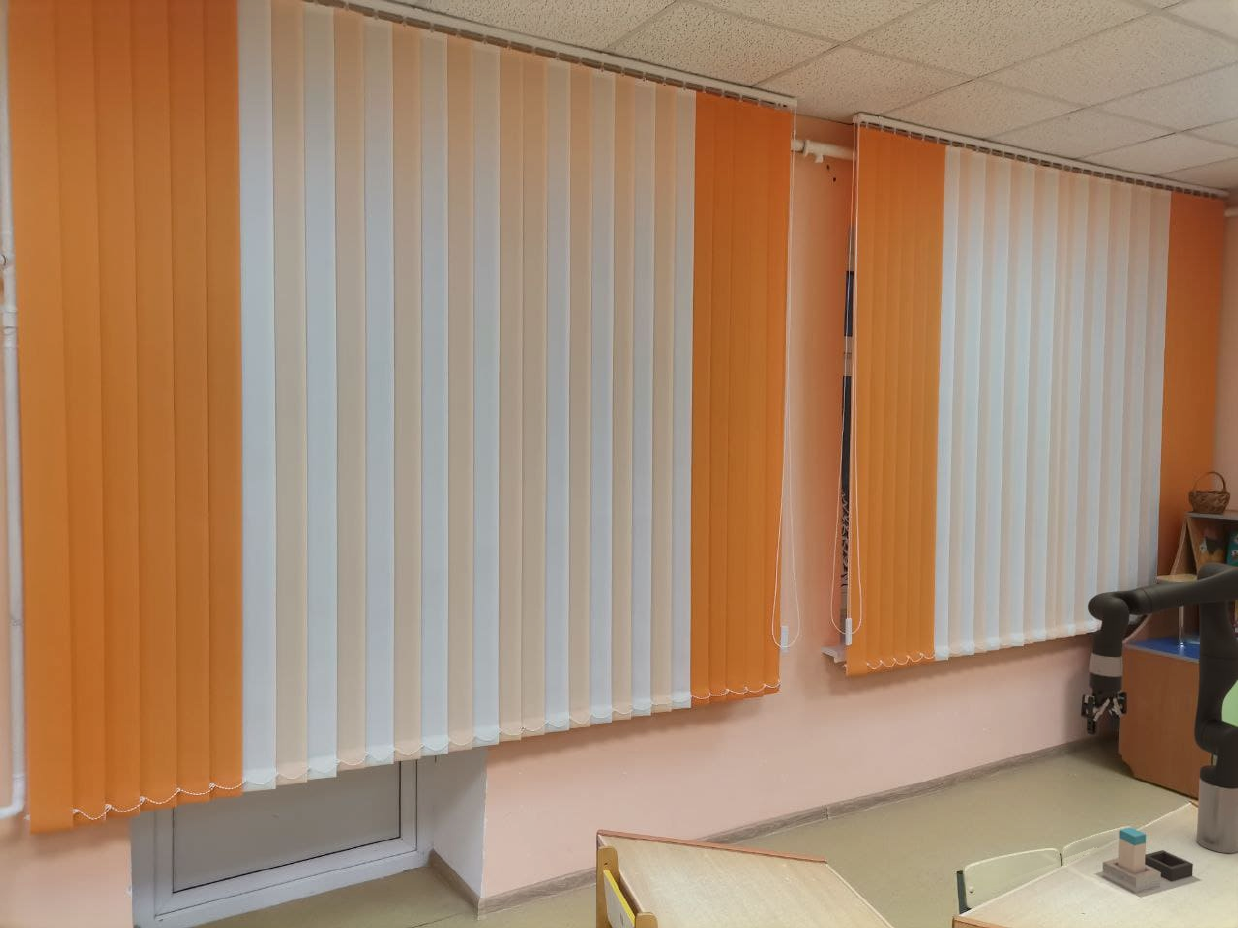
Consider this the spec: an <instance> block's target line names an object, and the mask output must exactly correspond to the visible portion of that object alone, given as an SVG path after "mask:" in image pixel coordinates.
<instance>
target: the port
mask: <svg viewBox="0 0 1238 928" xmlns="http://www.w3.org/2000/svg"><path fill="white" fill-rule="evenodd" d="M1102 871H1103V875H1102V876H1103V877H1105V878H1107V879H1109V880H1111V881H1113V882H1115V883H1117V884H1118V885H1120V886H1122V887H1124V888H1126V889H1128V890H1130V891H1132V892H1134V893H1139V892H1142V891H1146V890H1149V889H1153V888H1157V887H1160V877H1161V872H1160V871H1157V870H1155V869H1153V868H1151V867H1149V866H1147V865H1145V872H1142V873H1139V874H1135V875H1134V874H1132V873H1130V872H1128V871H1126V870H1124V869H1122V868H1120V867H1118V857H1117V858H1115V859H1114V858H1113V859H1110V860H1105V861H1103V862H1102Z"/></svg>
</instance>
